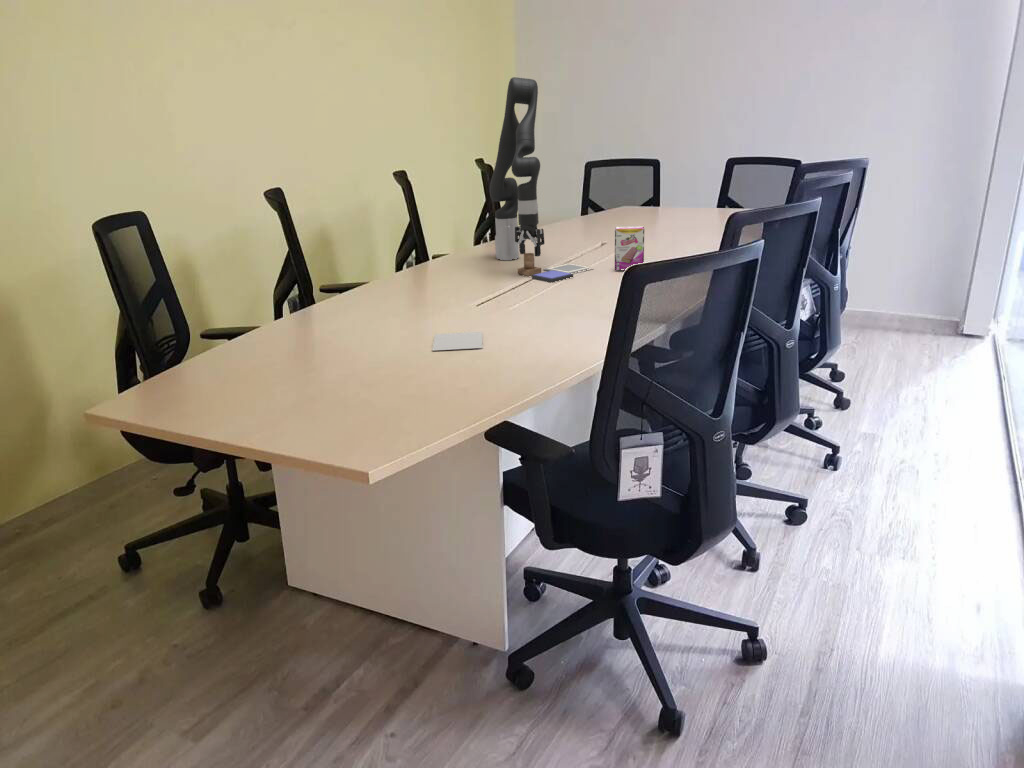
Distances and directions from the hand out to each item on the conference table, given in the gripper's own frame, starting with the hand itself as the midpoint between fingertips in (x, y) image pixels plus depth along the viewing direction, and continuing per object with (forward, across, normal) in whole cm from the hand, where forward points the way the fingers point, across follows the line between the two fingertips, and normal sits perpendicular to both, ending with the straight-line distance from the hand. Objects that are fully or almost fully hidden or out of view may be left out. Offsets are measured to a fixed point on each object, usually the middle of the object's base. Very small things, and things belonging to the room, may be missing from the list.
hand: (530, 255), depth 318 cm
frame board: (+8, +6, +15) cm, 17 cm away
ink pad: (+8, +11, +1) cm, 14 cm away
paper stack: (+9, +58, -73) cm, 93 cm away
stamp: (+8, -1, 0) cm, 8 cm away
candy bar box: (+8, +25, +28) cm, 39 cm away
